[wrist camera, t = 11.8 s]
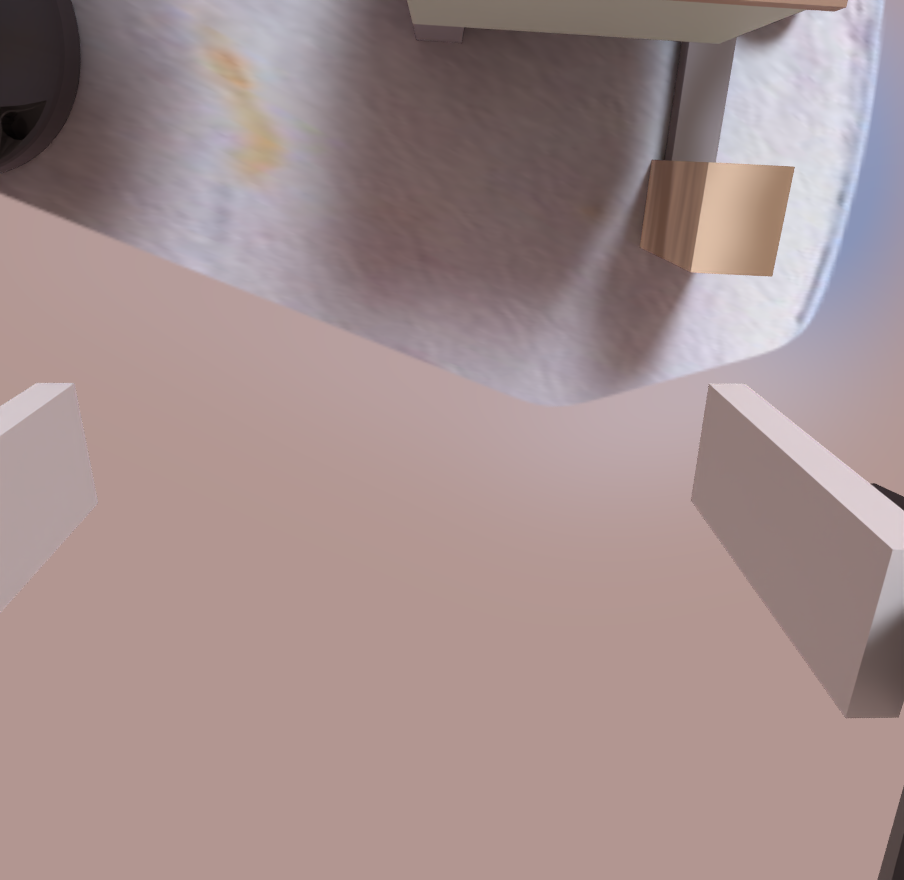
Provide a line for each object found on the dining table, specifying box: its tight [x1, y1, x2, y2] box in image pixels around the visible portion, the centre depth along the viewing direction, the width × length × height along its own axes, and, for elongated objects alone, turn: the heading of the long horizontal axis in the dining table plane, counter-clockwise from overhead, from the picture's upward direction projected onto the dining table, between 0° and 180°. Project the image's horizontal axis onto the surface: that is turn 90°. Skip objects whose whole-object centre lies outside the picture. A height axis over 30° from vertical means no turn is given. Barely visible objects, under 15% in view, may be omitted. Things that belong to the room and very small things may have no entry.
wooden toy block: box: [640, 37, 795, 276], centre depth 36 cm, size 4×21×10 cm, turn 177°
